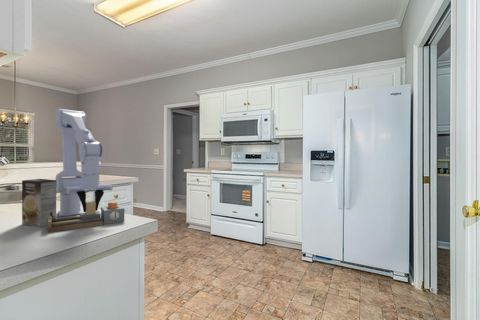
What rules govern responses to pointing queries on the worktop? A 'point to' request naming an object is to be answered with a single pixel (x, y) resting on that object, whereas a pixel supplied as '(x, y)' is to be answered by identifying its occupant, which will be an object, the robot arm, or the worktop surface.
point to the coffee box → (38, 201)
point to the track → (71, 223)
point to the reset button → (112, 205)
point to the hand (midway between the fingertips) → (90, 210)
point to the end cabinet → (112, 214)
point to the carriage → (90, 211)
